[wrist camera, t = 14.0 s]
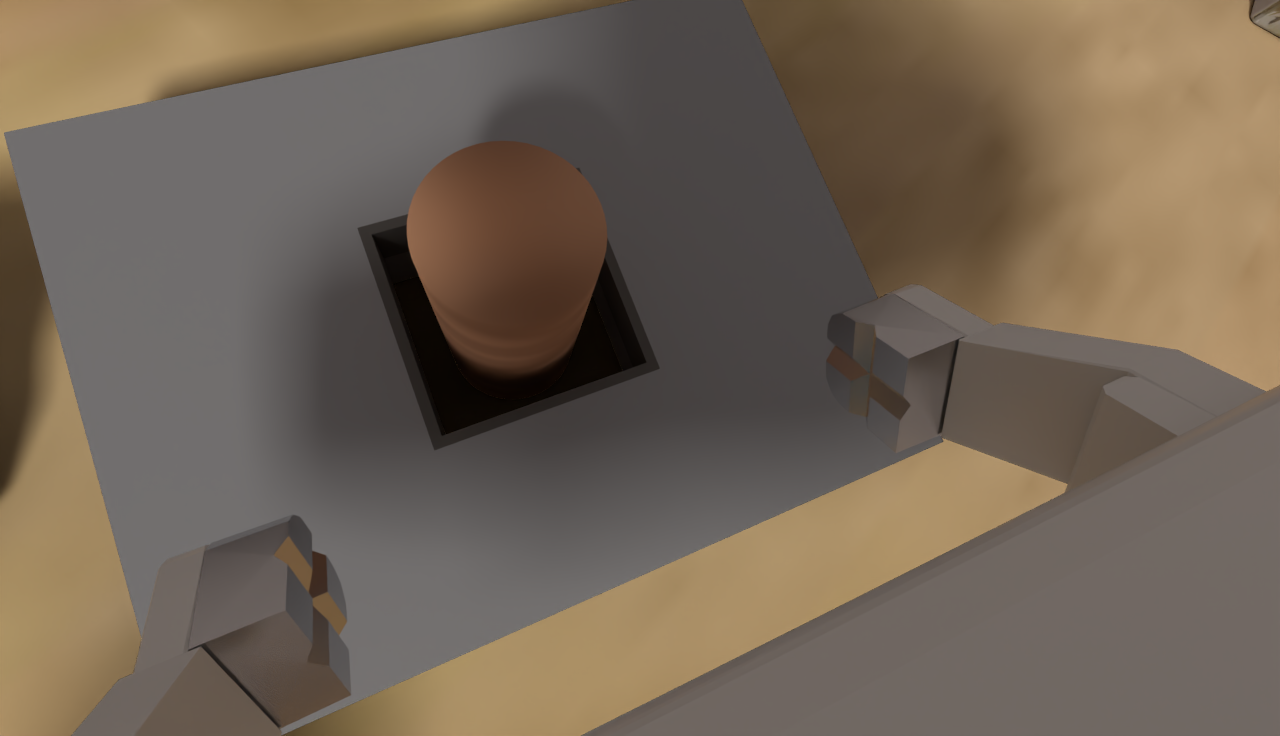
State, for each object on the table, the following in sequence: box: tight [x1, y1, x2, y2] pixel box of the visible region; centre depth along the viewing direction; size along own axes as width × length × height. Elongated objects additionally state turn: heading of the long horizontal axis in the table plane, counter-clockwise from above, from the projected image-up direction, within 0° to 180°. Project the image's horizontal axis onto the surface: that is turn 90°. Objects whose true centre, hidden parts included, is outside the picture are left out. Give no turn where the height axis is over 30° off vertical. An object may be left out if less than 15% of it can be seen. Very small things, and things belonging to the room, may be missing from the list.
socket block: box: [4, 0, 943, 735], centre depth 17 cm, size 18×14×4 cm
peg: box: [407, 141, 607, 400], centre depth 16 cm, size 4×4×8 cm
